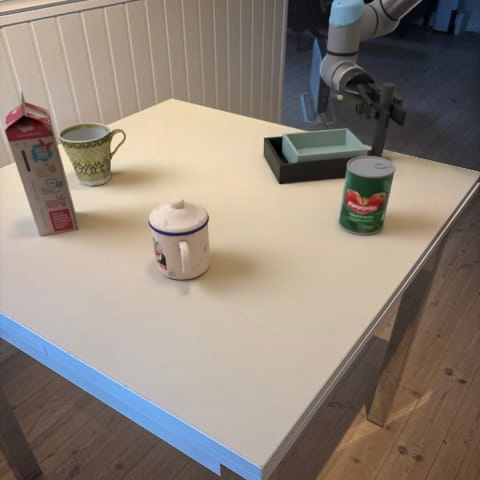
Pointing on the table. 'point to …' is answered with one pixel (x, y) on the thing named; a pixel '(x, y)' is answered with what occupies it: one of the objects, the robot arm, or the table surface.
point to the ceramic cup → (90, 151)
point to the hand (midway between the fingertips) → (395, 119)
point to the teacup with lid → (180, 238)
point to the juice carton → (40, 168)
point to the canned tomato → (366, 194)
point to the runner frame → (301, 165)
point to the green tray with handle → (336, 139)
